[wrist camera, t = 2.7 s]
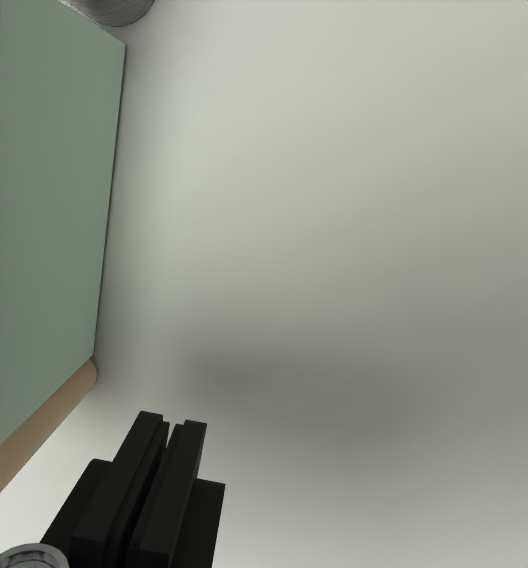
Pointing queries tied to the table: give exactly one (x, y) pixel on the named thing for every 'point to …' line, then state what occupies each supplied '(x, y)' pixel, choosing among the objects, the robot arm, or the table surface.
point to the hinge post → (113, 10)
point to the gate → (51, 213)
